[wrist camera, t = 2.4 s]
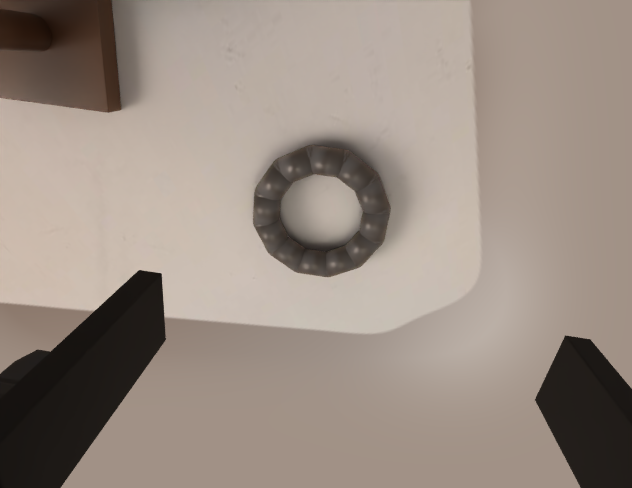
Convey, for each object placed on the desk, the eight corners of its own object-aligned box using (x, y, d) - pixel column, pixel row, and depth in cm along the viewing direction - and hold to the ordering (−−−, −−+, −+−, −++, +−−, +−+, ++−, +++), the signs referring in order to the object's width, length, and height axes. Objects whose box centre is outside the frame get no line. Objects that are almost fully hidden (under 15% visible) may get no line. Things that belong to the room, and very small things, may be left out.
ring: (253, 258, 30) (247, 269, 28) (260, 135, 26) (254, 140, 24) (374, 276, 29) (375, 289, 28) (400, 154, 26) (403, 160, 24)
